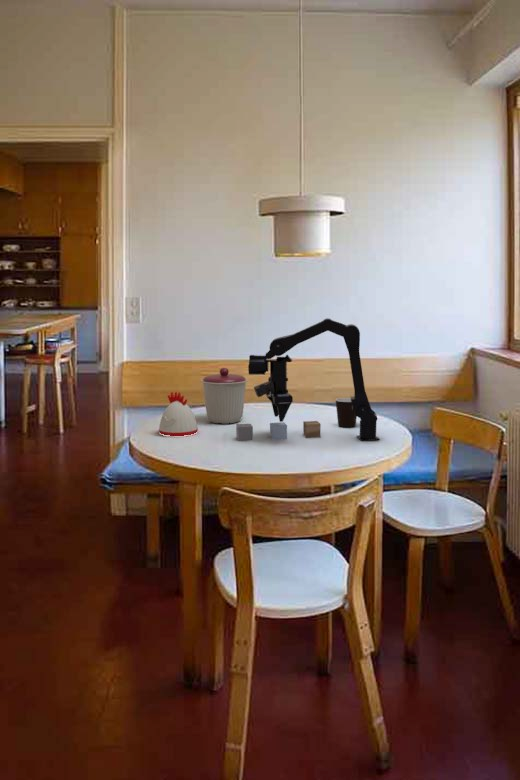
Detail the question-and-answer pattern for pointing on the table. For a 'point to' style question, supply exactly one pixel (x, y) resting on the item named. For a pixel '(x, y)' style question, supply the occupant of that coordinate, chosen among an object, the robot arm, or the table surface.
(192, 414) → the kitchen timer
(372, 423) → the robot arm
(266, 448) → the table surface
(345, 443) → the table surface
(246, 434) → the charcoal block
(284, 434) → the slate blue block
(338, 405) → the coffee mug
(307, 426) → the walnut block
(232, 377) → the canister
